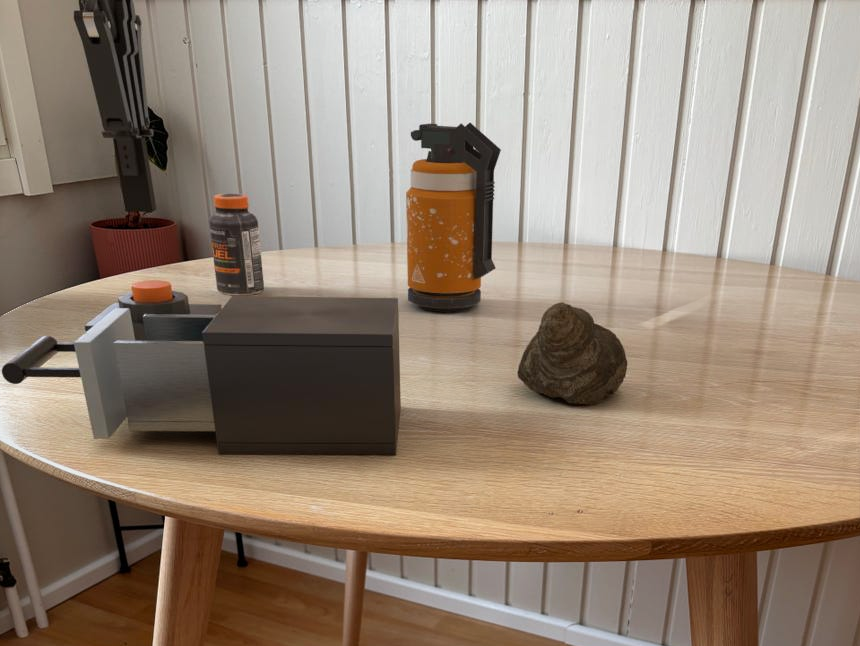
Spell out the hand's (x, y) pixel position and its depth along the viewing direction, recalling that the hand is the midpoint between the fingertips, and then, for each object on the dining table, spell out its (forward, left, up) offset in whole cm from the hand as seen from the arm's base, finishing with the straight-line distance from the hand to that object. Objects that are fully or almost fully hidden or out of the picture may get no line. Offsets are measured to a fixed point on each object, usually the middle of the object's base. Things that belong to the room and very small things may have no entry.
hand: (141, 210), depth 95 cm
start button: (0, 0, -9) cm, 9 cm away
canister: (+32, +15, -13) cm, 37 cm away
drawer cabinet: (+20, -29, -13) cm, 37 cm away
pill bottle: (+5, +22, -13) cm, 26 cm away
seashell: (+44, -18, -13) cm, 49 cm away
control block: (0, 0, -13) cm, 13 cm away
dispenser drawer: (+6, -29, -12) cm, 32 cm away
